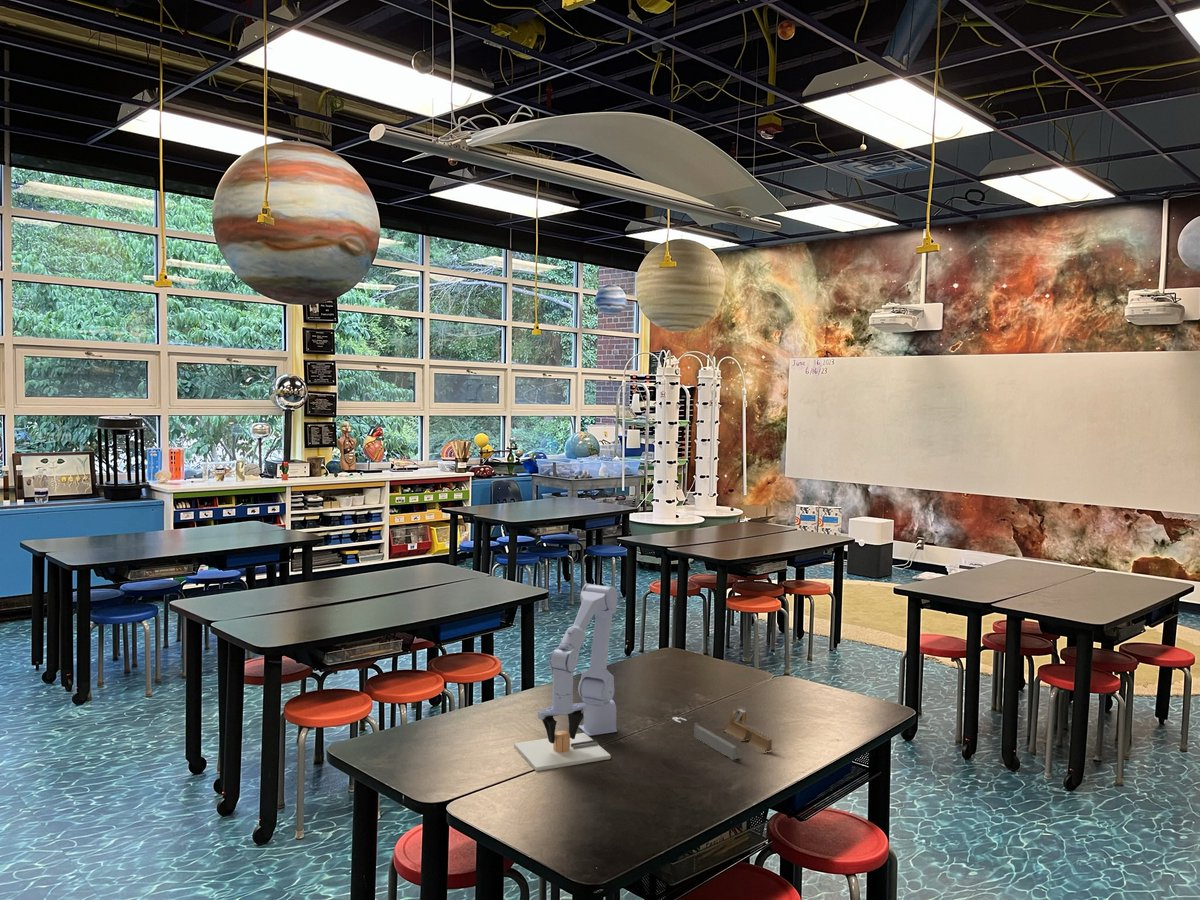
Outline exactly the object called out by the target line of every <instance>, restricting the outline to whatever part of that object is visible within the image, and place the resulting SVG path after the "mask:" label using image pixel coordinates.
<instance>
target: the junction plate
mask: <svg viewBox="0 0 1200 900" xmlns="http://www.w3.org/2000/svg"><path fill="white" fill-rule="evenodd" d="M513 747H514V748H515V749H516V751H517V752H518V753H519V755H521V757H522V758H524V760H525V761H526V762H527V763H528V764H529V765H530V766H531V767H532V769H533V770H534V771H535V772H540V771H545V770H552V769H556V768H563V767H569V766H574V765H575V766H577V765H581V764H588V763H593V762H594V763H595V762H599V761H604V760H610V759H611V754H610V753H609V752H607V751H606V750H605V749H604V748H603V747H602V746H601V745H599V742H598V741H596V740H595V739H592V737H591V736H588V735H587V734H586V733H585V732H582V733H576V736H575V739H572V738H570V750H569V751H567V752H556V751H554V750H553V743H550V742H549V740H548V737H546V738H541V739H540V738H539V739H535V740H527V741H526V740H525V741H521V742H515V743H513Z"/></svg>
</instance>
